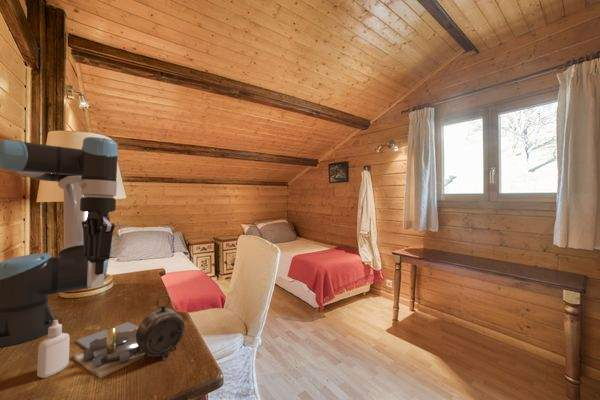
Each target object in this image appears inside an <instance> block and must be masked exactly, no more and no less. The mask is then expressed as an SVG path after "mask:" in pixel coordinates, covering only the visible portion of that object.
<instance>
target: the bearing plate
mask: <svg viewBox="0 0 600 400" xmlns="http://www.w3.org/2000/svg"><path fill="white" fill-rule="evenodd" d="M89 349H90V348H89ZM85 350H88V349H84V350H81V351H78V352H76V353H73V354H72V359H74V360H75V361H77V362H78V364H79V363H80V365H82V366H83V367H84V368H85V369H87V370H88V371H89V372H91V374H93V375H95V376H96V377H97V378H98V379H101V378H104V377H106V376H109V375H110V374H112V373H114V372H117V371H119V370H121V369H122V368H125V367H126V366H129V365H132V364H133V363H135V362H138V361H140V360H142V358H143V356H144V354H145V353H144V352H138V353H136V354H134V355H132V356H130V357H129V360H127V361H124V362H119V360H117V361H112V362H105V363H104V364H102V365H101V366H97V365H93V359H92V358H91V359H88V360H85V361H84V360H83V351H85ZM148 356H149V355H147V356H146V357H148Z"/></svg>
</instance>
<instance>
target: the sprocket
mask: <svg viewBox="0 0 600 400" xmlns="http://www.w3.org/2000/svg"><path fill="white" fill-rule="evenodd" d="M106 330H107V337H105V338H103V339H95V340H94V341H92V342H91V343H90V349H88V350H86V349H84V350H85V351H83V350H82V351H83V360H84V361H85V360H88V359H91V358H92V359H93V365H97V366H101V365H102V364H104V363H105V362H112V361H117V360H119V362H124V361H127V360H129V357H130V356H132V355H134V354H136V353H138V352H143V351H142V349H141V348H140V347H139V346H138V344H137V342H136V333H137V330H138V329H134V330H133V331H128V332H121V333H120V331H117V332H116V327H115V326H110V327H107V328H106Z"/></svg>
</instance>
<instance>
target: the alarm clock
mask: <svg viewBox="0 0 600 400" xmlns="http://www.w3.org/2000/svg"><path fill="white" fill-rule="evenodd" d="M163 297H167V298H168V302H167V304H163V305H161V306H160V305H159V301H160V300H161V298H163ZM170 302H171V298H170V296H169V295H168V294H163V295H160V296H159V297H158V299H157V301H156V306H157V307H158V308H159V309H156V310H154V311H152V312H151V313H149V314H148V315H147V316H146V317H145V318H144V319H143V320H142V321H141V322H140V324H139V326H138V327H139V328H138V330H137V333H136V342H137V344H138V346H139V347H140V348H141V349H142V351H143V352H144V353H145V354H144V356H143V358H142V359H140V360H139V361H140V363H143V362H144V360H145V359H146V358H147V357H148V356H150V357H161V358H162V361H165V360H166V354H167V353H169V352H170V351H172V350H177V348H178V347H177V345H178V344H179V343H180V342H181V340H182V337H183V335H184V334H185V326H186V325H185V321H184V318H183V317H182V316H181V315H180V313H177V312H176V310H173V309H171V308H168V305H169V304H170ZM166 307H167V308H166ZM147 355H148V356H147Z"/></svg>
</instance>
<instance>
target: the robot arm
mask: <svg viewBox="0 0 600 400" xmlns="http://www.w3.org/2000/svg"><path fill="white" fill-rule="evenodd" d="M118 150H119V149H118V143H117V142H116V141H115V140H112V139H108V138H103V137H96V136H87V137H85V138H83V140H82V146H81V148H73V147H64V146H58V145H57V146H56V145H49V144H42V143H33V142H28V141H22V140H10V139H2V140H0V169H1V170H3V171H4V170H5V171H12V172H15V173H16V174H17V175H18V174H19V175H21V176H23V177H26V178H30V179H34V180H39V181H43V182H44V181H46V182H57V187H59V188H60V189H61V190H63V226H64V227H63V231H64V232H63V235H64V237H63V238H64V240H63V242H64V243H63V244H64V245H63V246H64V247H63V248H61V249H60V250H59V251H58V256H55V257H54V256H53V257H52V255H51V254H50V253H49V252H41V253H32V254H25V255H20V256H16V257H11V258H7V259H5V260H2V261H0V347H7V346H13V345H18V344H21V343H25V342H28V341H32V340H35V339H37V338H40V337H43V336H45V335H48V328H49V327H50V326H52V324H53V321H54V320H56V318H55V316H54V314H53V312H52V309H51V307H50V305H49V296H50V295H55V294H63V293H67V292H68V293H69V292H74V291H80V290H88V289H93V288H97V287H102V286H104V285H105V279H106V278H107V277H106V276H107V271H108V267H109V260H110V255H111V249H112V242H113V234H114V230H115V228H116V225H115V223H111V221H110V215H109V213H110V212H111V213H112V212H115V211H116V207H117V204H116V203H117V202H116V201H117V199H116V198H114V197H116V196H117V187H118V186H117V185H118V184H117V183H118V182H117V178H118V177H117V175H118V173H117V172H118V157H119V151H118ZM51 173H52V174H51Z"/></svg>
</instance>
